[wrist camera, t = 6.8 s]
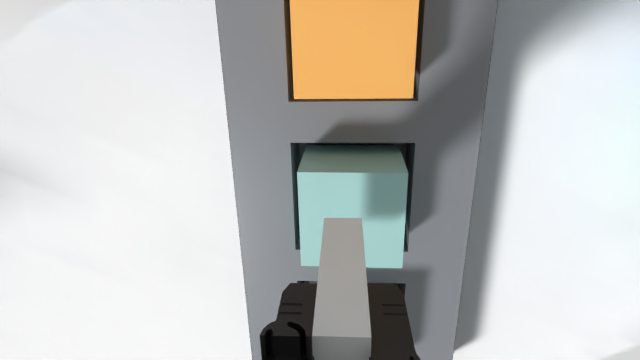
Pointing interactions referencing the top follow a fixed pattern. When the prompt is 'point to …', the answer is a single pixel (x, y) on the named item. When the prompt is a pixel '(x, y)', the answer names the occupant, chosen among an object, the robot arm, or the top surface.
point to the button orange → (353, 48)
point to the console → (358, 129)
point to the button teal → (354, 198)
